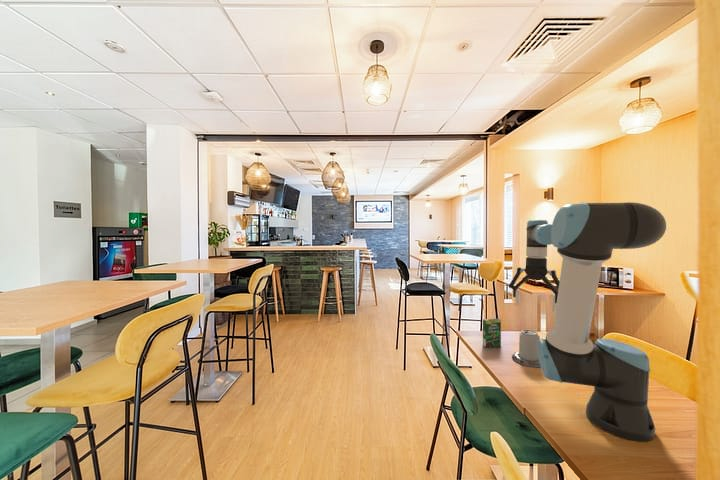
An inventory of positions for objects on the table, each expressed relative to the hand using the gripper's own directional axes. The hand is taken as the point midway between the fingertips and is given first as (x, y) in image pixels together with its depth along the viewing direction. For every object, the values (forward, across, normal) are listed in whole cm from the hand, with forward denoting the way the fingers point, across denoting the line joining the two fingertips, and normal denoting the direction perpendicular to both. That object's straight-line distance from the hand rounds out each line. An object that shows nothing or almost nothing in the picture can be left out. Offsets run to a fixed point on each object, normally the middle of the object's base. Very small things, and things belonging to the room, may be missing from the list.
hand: (534, 307), depth 126 cm
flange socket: (+23, +2, 0) cm, 23 cm away
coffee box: (+23, +19, -5) cm, 30 cm away
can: (+23, +2, 0) cm, 23 cm away
